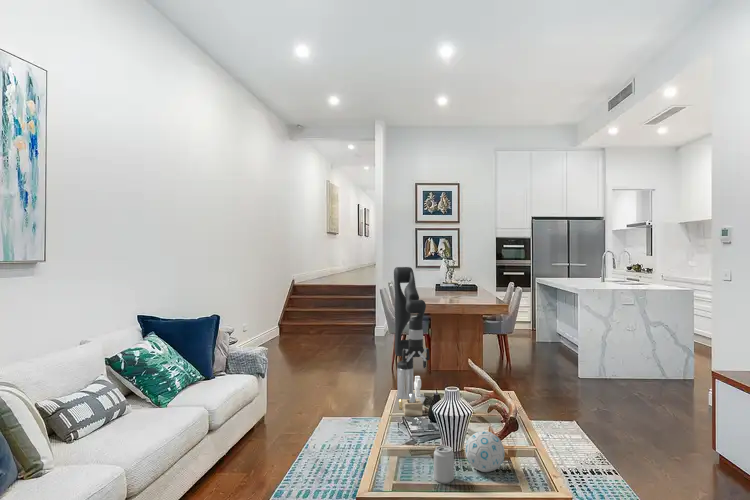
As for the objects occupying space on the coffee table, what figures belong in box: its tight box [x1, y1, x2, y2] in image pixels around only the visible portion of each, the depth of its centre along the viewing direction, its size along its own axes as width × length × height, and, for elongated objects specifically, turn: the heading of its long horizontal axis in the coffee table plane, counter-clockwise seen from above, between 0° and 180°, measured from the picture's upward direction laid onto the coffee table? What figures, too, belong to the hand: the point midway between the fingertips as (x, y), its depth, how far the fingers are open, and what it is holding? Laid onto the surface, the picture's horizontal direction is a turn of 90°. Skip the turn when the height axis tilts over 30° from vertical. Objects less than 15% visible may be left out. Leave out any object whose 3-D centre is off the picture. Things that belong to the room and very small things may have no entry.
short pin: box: [398, 398, 402, 411], centre depth 280 cm, size 3×3×5 cm
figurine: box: [413, 375, 426, 405], centre depth 290 cm, size 7×9×15 cm
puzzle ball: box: [464, 430, 505, 473], centre depth 205 cm, size 15×15×15 cm
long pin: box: [409, 392, 415, 403], centre depth 273 cm, size 3×3×10 cm
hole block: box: [401, 399, 423, 417], centre depth 273 cm, size 9×9×6 cm
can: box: [433, 445, 455, 484], centre depth 197 cm, size 8×8×12 cm
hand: (416, 368), depth 274 cm, fingers open, 8 cm apart
